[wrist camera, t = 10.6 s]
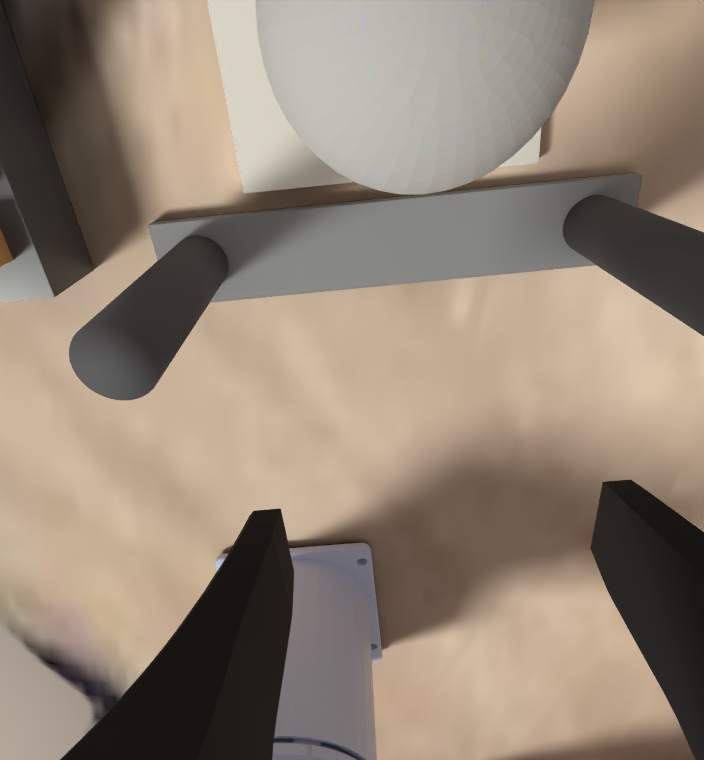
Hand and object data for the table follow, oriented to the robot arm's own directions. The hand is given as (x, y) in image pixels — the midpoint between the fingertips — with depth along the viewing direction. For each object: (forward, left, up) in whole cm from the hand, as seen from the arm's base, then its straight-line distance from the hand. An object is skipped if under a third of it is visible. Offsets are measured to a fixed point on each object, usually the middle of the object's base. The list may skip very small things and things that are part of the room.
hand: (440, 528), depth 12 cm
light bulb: (+10, 0, -10) cm, 14 cm away
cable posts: (+4, 0, -10) cm, 11 cm away
